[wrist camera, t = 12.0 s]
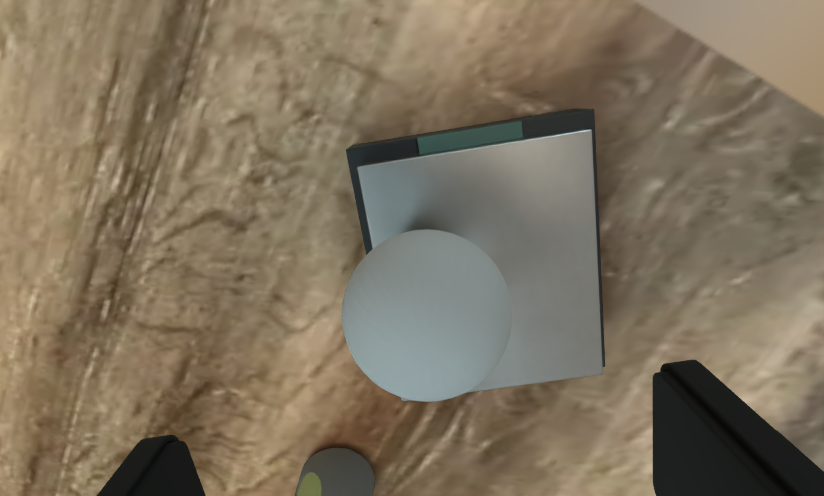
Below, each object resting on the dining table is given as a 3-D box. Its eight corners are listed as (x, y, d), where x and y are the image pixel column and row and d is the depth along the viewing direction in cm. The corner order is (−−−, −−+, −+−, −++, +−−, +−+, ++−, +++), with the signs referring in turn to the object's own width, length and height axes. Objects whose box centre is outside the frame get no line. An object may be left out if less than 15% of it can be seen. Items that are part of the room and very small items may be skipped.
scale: (351, 144, 25) (342, 151, 22) (576, 108, 25) (602, 109, 21) (395, 372, 29) (393, 406, 26) (589, 345, 29) (612, 376, 25)
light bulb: (506, 240, 23) (573, 337, 13) (433, 328, 24) (447, 472, 15) (409, 169, 22) (407, 218, 12) (339, 265, 23) (289, 375, 14)
